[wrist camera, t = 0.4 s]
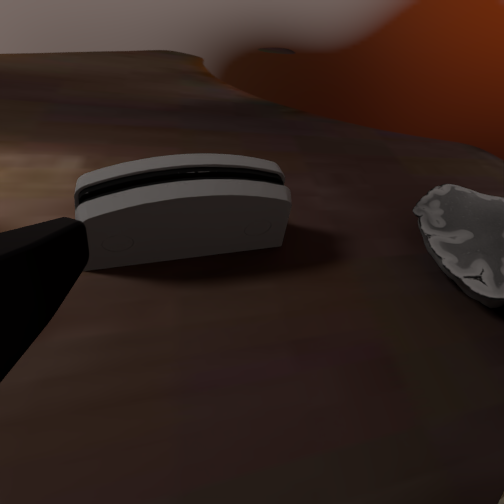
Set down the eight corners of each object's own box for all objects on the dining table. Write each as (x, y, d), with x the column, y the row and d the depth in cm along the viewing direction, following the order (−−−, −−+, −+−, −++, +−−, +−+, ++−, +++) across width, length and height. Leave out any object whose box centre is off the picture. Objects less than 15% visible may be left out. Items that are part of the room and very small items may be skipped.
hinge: (266, 212, 40) (294, 135, 31) (279, 255, 37) (314, 184, 29) (78, 231, 35) (52, 145, 26) (81, 281, 33) (54, 205, 24)
